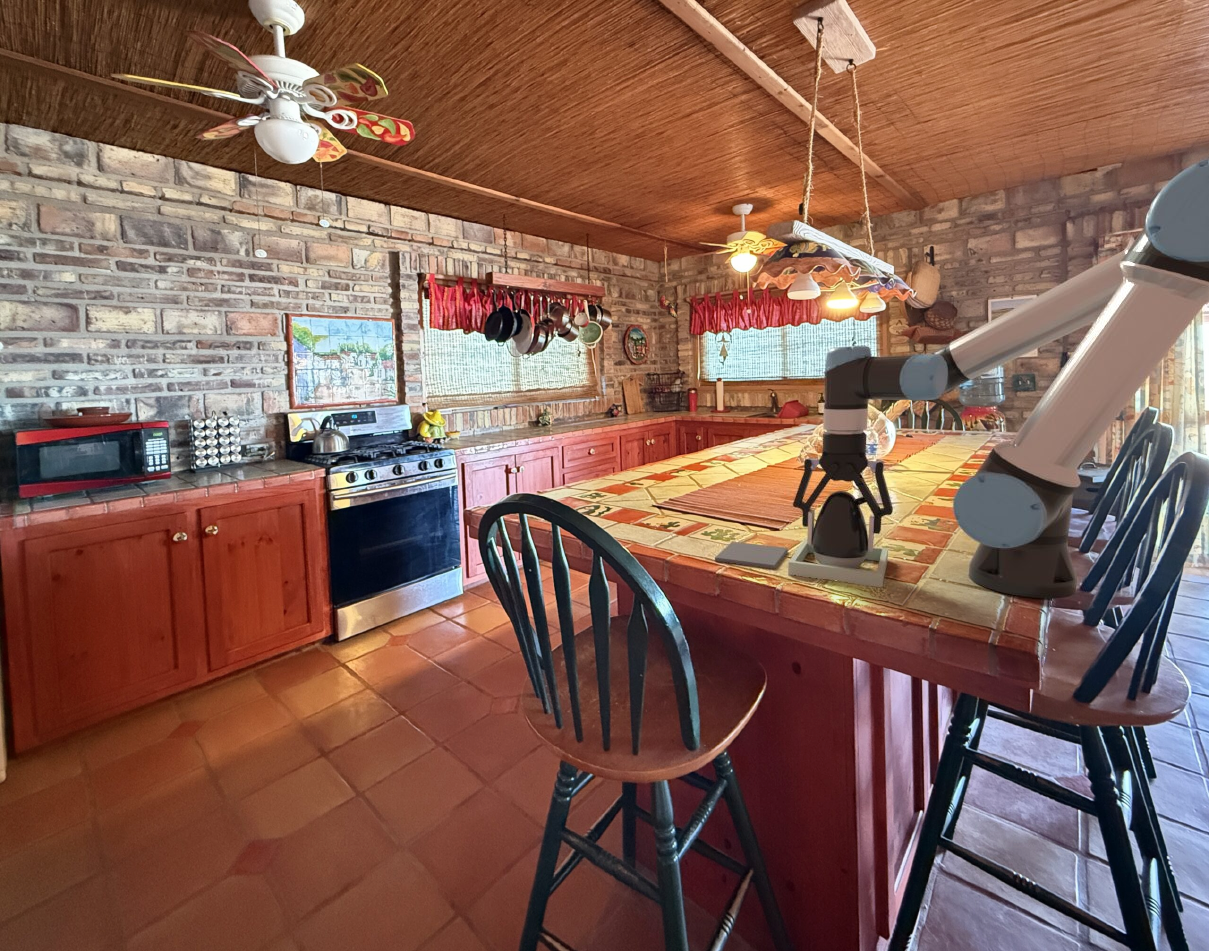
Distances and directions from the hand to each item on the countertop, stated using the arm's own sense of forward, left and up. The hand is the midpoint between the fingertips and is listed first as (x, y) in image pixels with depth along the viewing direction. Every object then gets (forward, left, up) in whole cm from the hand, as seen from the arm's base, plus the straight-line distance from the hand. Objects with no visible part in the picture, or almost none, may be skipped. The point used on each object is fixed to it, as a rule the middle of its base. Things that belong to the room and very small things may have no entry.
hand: (839, 546), depth 109 cm
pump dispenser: (0, 0, -4) cm, 4 cm away
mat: (+17, 0, -4) cm, 18 cm away
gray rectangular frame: (0, 0, -4) cm, 4 cm away
